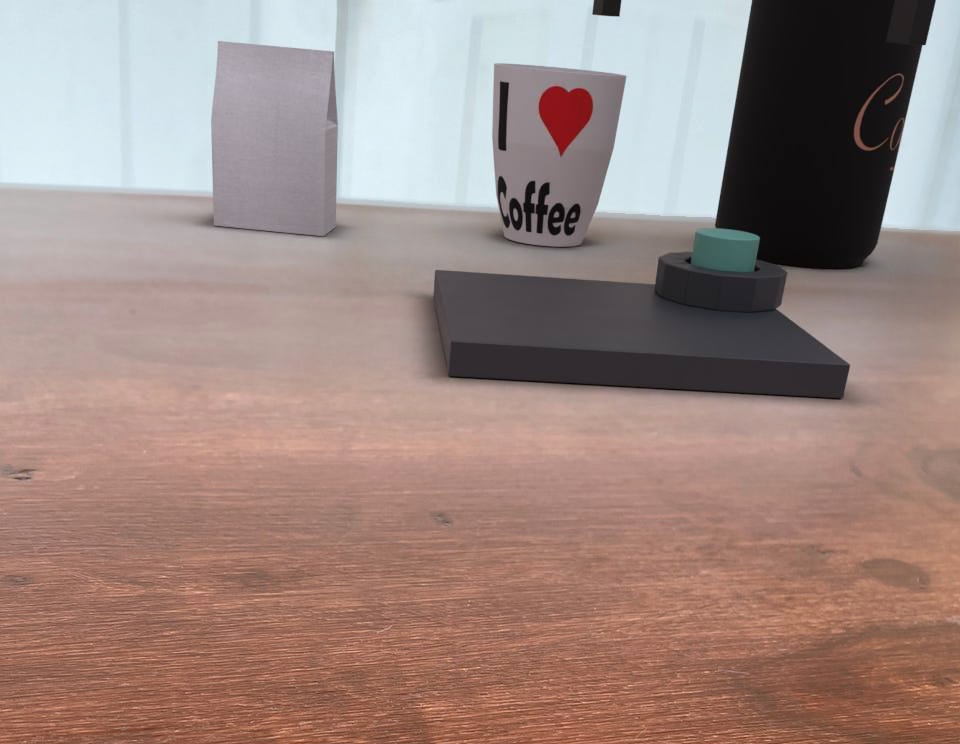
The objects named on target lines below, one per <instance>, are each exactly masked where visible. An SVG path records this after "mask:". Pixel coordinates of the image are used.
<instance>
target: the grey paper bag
mask: <svg viewBox="0 0 960 744" xmlns="http://www.w3.org/2000/svg"><path fill="white" fill-rule="evenodd" d="M216 57H217V58H216V67H215V79H214V87H213V96H212V97H213V99H212V106H211V107H212V108H211V116H210V117H211V118H210V128H211V129H210V131H211V134H210V135H211V171H212V174H211V175H212V207H213V208H212V209H213V210H212V211H213V212H212V213H213V226H216V227H223V228H225V227H226V228H235V229H246V230H257V231H267V232H275V233H285V234H286V233H287V234H295V235H296V234H298V235H307V236H316V237H325V236H326V235H327V234H329V233H330V232H331V231H332V230H334V229H335V228H336V227H337V190H338V189H337V185H338V184H337V183H338V142H339V141H338V138H339V137H338V136H339V133H338V132H339V123H338V121H339V120H338V108H337V107H338V106H337V93H336V92H337V91H336V90H337V89H336V74H335V73H336V72H335V51H333V50H323V49H322V50H321V49H312V48H301V47H300V48H299V47H290V46H289V47H288V46H277V45H268V44H259V43H258V44H257V43H244V42H234V41H223V40H218V41H217V56H216Z"/></svg>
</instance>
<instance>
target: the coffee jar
mask: <svg viewBox="0 0 960 744" xmlns="http://www.w3.org/2000/svg"><path fill="white" fill-rule="evenodd" d="M894 3H895V0H751V5H750V10H749V16H748V22H747V29H746V35H745V40H744V47H743V52H742V60H741V66H740V70H739V77H738V84H737V89H736V97H735V102H734V108H733V113H732V120H731V125H730V132H729V138H728V145H727V150H726V155H725V162H724V169H723V175H722V179H721V180H722V182H721V185H720V193H719V199H718V205H717V211H716V215H715V222H714V228H720V229H730V230H737V231H743V232H748V233H752V234H755V235H757V236H759V237H760V241H759V246H758V252H757V257H756V259H757V260H761V261H764V262H768V263H772V264H779V265H785V266H795V267H805V268H816V269H848V268H855V267H859V266H862V264H863V263H864V261H865V260H866V259H867V258H868V257H869V256H870V255H872V253H873V252H874V250H875V249H876V247H877V245H878V244H879V238H880V235H881V229H882V226H883V221H884V217H885V211H886V208H887V203H888V198H889V194H890V190H891V186H892V182H893V177H894V173H895V169H896V164H897V160H898V155H899V151H900V146H901V142H902V137H903V132H904V129H905V124H906V120H907V115H908V111H909V108H910V107H909V106H910V103H911V98H912V94H913V88H914V85H915V81H916V76H917V70H918V67H919V63H920V58H921V54H922V51H923V45H913V44H899V43H889V42H886V40H887V35H888V30H889V26H890V21H891V16H892V12H893V7H894Z"/></svg>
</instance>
